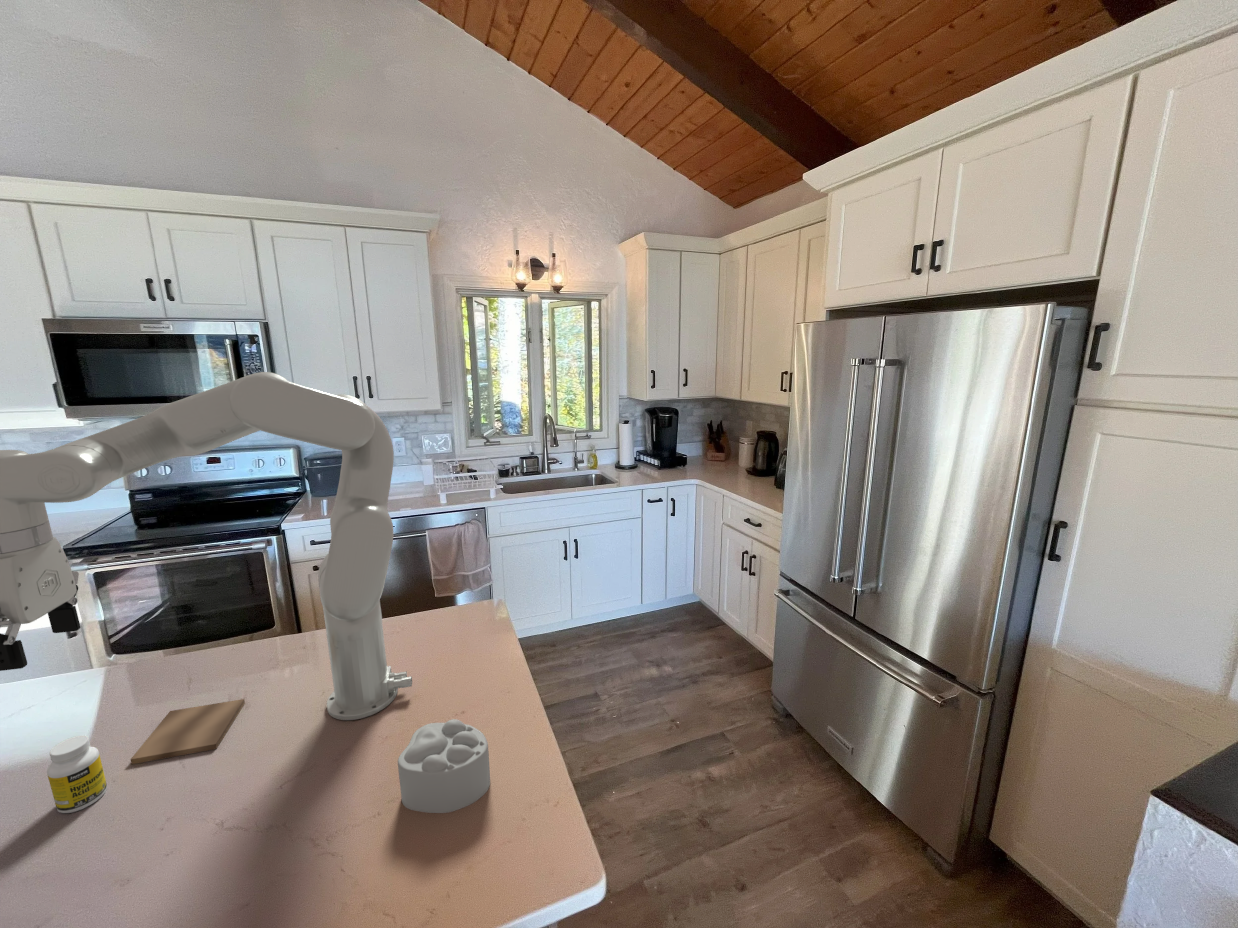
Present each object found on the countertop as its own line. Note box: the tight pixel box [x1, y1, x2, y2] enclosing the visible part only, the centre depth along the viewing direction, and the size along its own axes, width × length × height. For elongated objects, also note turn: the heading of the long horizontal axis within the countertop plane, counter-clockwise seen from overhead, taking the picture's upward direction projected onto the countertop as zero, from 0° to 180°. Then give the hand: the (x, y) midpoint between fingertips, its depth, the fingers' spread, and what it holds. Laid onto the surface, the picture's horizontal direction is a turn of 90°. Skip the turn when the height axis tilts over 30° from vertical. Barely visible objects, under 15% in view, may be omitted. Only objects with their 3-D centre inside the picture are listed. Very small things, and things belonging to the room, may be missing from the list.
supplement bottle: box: [46, 735, 108, 814], centre depth 76 cm, size 5×5×10 cm
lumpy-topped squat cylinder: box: [397, 718, 491, 814], centre depth 79 cm, size 10×13×9 cm
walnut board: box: [129, 698, 246, 765], centre depth 91 cm, size 12×12×1 cm
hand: (41, 648), depth 74 cm, fingers open, 9 cm apart
